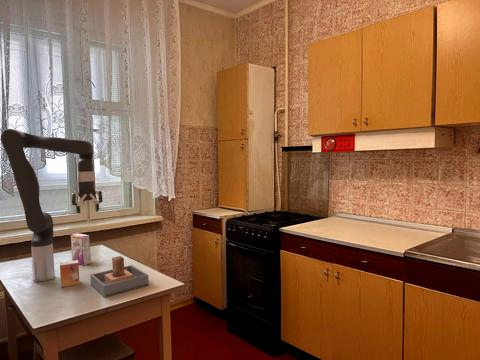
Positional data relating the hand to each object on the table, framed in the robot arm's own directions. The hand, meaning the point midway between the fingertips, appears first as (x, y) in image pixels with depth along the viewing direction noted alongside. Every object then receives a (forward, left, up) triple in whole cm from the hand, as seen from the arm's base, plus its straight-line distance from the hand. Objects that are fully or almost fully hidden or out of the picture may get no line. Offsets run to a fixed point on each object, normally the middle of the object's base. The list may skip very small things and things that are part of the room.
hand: (88, 212), depth 174 cm
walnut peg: (+5, -26, -31) cm, 41 cm away
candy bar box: (+1, +24, -32) cm, 40 cm away
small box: (-12, -8, -32) cm, 35 cm away
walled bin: (+5, -26, -32) cm, 42 cm away
